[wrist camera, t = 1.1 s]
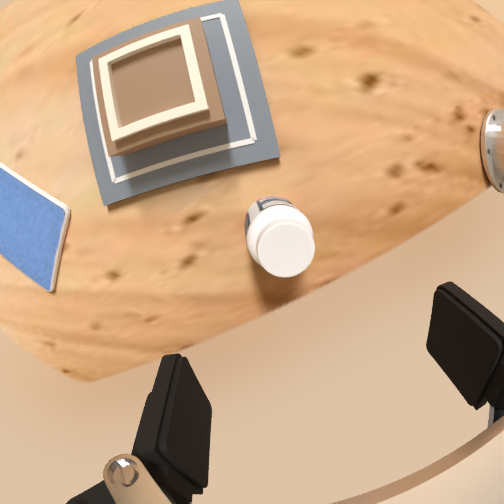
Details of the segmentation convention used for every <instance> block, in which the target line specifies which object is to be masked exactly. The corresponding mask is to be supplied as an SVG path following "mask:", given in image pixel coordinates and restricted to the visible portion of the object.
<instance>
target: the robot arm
mask: <svg viewBox="0 0 504 504" xmlns="http://www.w3.org/2000/svg"><path fill="white" fill-rule="evenodd" d="M481 154H482V160H483V165H484V168H485V172H486V174H487V177H488V179H489V181H490V183H491V185H492V186H493V187H494V188H495V189H496V190H497V191H498V192H501V193H504V110H503V109H492V110H490V111H489V112H488V113H487V115H486V116H485V118H484V121H483V125H482V129H481ZM426 346H427V350H428V352H429V353H430V355H431V356H432V357H433V358H434V359H435V361H436V362H437V363H438V365H439V366H440V367H441V368H442V370H443V371H444V372H445V373H446V375H447V376H448V377H449V379H450V380H451V381H452V383H453V384H454V385H455V386H456V388H457V389H458V390H459V392H460V393H461V394H462V396H463V397H464V399H465V400H466V401H467V403H468V404H469V405H471V406H474V408H475V409H476V410H478V409H479V408H481V407H482V406H483V405H485V404H486V402H487V401H488V402H489V404H490V409H489V410H490V411H489V420H488V428H487V429H486V430H484V431H483V432H482V433H480V434H479V435H478V436H476V437H475V438H473V439H472V440H470V441H469V442H467V443H466V444H465V445H463V446H461V447H460V448H458V449H457V450H455V451H453V452H452V453H450V454H448V455H447V456H445V457H443V458H441V459H440V460H438V461H436V462H434V463H433V464H431V465H429V466H427V467H425V468H423V469H421V470H419V471H417V472H415V473H413V474H411V475H409V476H406V477H404V478H402V479H400V480H398V481H395V482H393V483H391V484H388V485H386V486H383V487H381V488H378V489H375V490H373V491H370V492H367V493H364V494H361V495H358V496H355V497H352V498H349V499H345V500H342V501H339V502H335V503H331V504H504V323H503V322H502V321H501V320H500V319H499V318H498V317H496V316H495V315H494V314H493V313H492V312H490V311H489V310H488V309H486V308H485V307H484V306H483V305H482V304H480V303H479V302H478V301H476V300H475V299H474V298H472V297H471V296H470V295H469V294H468V293H466V292H465V291H464V290H462V289H461V288H460V287H458V286H457V285H456V284H454V283H453V282H447V283H444V284H442V285H439V286H438V287H437V289H436V291H435V293H434V299H433V307H432V314H431V321H430V327H429V332H428V338H427V343H426ZM211 417H212V408H211V404H210V402H209V400H208V398H207V396H206V395H205V393H204V391H203V389H202V387H201V385H200V383H199V381H198V379H197V378H196V376H195V374H194V372H193V370H192V368H191V366H190V364H189V361H188V359H187V358H186V357H182V356H181V355H180V354H170V355H164V356H163V357H162V360H161V363H160V367H159V370H158V373H157V376H156V379H155V383H154V386H153V389H152V392H150V393H149V395H148V397H147V400H146V403H145V406H144V410H143V413H142V417H141V420H140V424H139V428H138V431H137V435H136V438H135V442H134V446H133V450H132V454H131V455H129V454H121V455H118V456H115V457H113V458H112V459H111V460H109V462H108V463H107V464H106V466H105V468H104V471H103V477H104V480H103V481H101V482H100V483H98V484H97V485H95V486H93V487H91V488H90V489H88V490H86V491H84V492H83V493H81V494H79V495H77V496H75V497H73V498H72V499H70V500H69V501H68V502H67V503H66V504H192V503H191V502H192V494H203V488H206V487H207V485H208V470H209V449H210V433H211V432H210V431H211Z"/></svg>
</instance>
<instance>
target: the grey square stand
mask: <svg viewBox="0 0 504 504" xmlns="http://www.w3.org/2000/svg"><path fill="white" fill-rule="evenodd" d="M76 64H77V75H78V84H79V93H80V100H81V107H82V113H83V119H84V125H85V130H86V135H87V140H88V145H89V150H90V154H91V159H92V163H93V167H94V171H95V175H96V179H97V183H98V187H99V190H100V194H101V197H102V201H103V204H104V206H106V205H109V204H111V203H114V202H117V201H120V200H123V199H125V198H128V197H131V196H134V195H137V194H140V193H143V192H146V191H150V190H153V189H156V188H159V187H162V186H166V185H169V184H172V183H176V182H179V181H183V180H186V179H190V178H193V177H197V176H201V175H204V174H208V173H212V172H216V171H220V170H224V169H228V168H232V167H236V166H240V165H245V164H249V163H254V162H258V161H263V160H268V159H273V158H278V157H280V152H279V148H278V144H277V139H276V135H275V131H274V126H273V122H272V118H271V114H270V110H269V106H268V102H267V98H266V94H265V90H264V86H263V82H262V79H261V75H260V71H259V67H258V64H257V60H256V57H255V53H254V49H253V46H252V42H251V39H250V36H249V32H248V29H247V26H246V22H245V19H244V16H243V13H242V9H241V6H240V3H239V0H224V1H219V2H214V3H210V4H205V5H201V6H197V7H193V8H189V9H186V10H182V11H179V12H175V13H172V14H169V15H166V16H163V17H160V18H157V19H154V20H151V21H149V22H146V23H143V24H141V25H138V26H136V27H133V28H131V29H128V30H126V31H124V32H121V33H119V34H117V35H115V36H113V37H111V38H108V39H106V40H104V41H102V42H100V43H98V44H96V45H94V46H93V47H91V48H89V49H87V50H85V51H83V52H82V53H80V54H78V55H76Z"/></svg>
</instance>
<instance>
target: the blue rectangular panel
mask: <svg viewBox="0 0 504 504" xmlns="http://www.w3.org/2000/svg"><path fill="white" fill-rule="evenodd" d="M69 219H70V209H69V207H68V206H67V205H66V204H64V203H63V202H61V201H59V200H58V199H56V198H54V197H53V196H51V195H49V194H48V193H46V192H45V191H43V190H41V189H40V188H38V187H37V186H35V185H34V184H32V183H30V182H29V181H27V180H26V179H24V178H23V177H21V176H20V175H18V174H17V173H15V172H14V171H12V170H11V169H9V168H8V167H7V166H5V165H4V164H2V163H1V162H0V255H1V256H3V257H4V258H5V259H6V260H7V261H9V262H10V263H11V264H12V265H13V266H15V267H16V268H17V269H18V270H20V271H21V272H22V273H23V274H25V275H26V276H27V277H29V278H30V279H31V280H32V281H34V282H35V283H37V284H38V285H39V286H41V287H42V288H43V289H45V290H46V291H48V292H52V291H53V290H54V288H55V284H56V278H57V272H58V267H59V262H60V257H61V253H62V248H63V243H64V239H65V235H66V231H67V227H68V223H69Z"/></svg>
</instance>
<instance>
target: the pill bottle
mask: <svg viewBox="0 0 504 504" xmlns="http://www.w3.org/2000/svg"><path fill="white" fill-rule="evenodd" d="M245 234H246V242H247V247H248V250H249V252H250V254H251V256H252V258H253V259H254V260H255V261H256V262H257V263H258V264H259V265H261V266H262V267H263V268H264V269H265V270H266V271H267V272H268V273H270V274H272V275H274V276H277V277H292V276H295V275H298V274H300V273H301V272H303V271H304V270H305V269H306V268H307V267H308V266H309V265H310V263H311V261H312V259H313V257H314V252H315V244H314V240H313V230H312V227H311V224H310V222H309V221H308V219H307V218H306V216H305V215H304V214H303V213H302V212H301V211H299V210H298V209H297V208H296V207H295V206H294V205H293V204H292V203H291V202H289V201H288V200H286V199H285V198H283V197H280V196H265V197H262V198H260V199H258V200H257V201H255V202H254V203H253V204H252V205H251V206H250V208H249V209H248V211H247V214H246V217H245Z"/></svg>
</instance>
